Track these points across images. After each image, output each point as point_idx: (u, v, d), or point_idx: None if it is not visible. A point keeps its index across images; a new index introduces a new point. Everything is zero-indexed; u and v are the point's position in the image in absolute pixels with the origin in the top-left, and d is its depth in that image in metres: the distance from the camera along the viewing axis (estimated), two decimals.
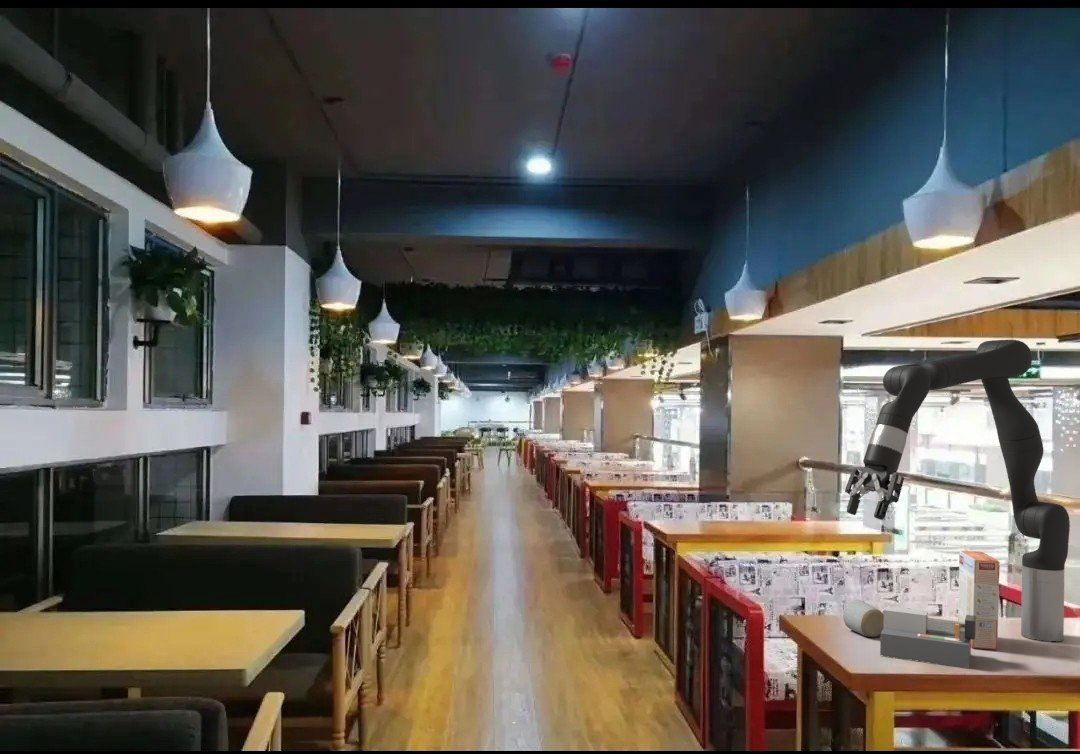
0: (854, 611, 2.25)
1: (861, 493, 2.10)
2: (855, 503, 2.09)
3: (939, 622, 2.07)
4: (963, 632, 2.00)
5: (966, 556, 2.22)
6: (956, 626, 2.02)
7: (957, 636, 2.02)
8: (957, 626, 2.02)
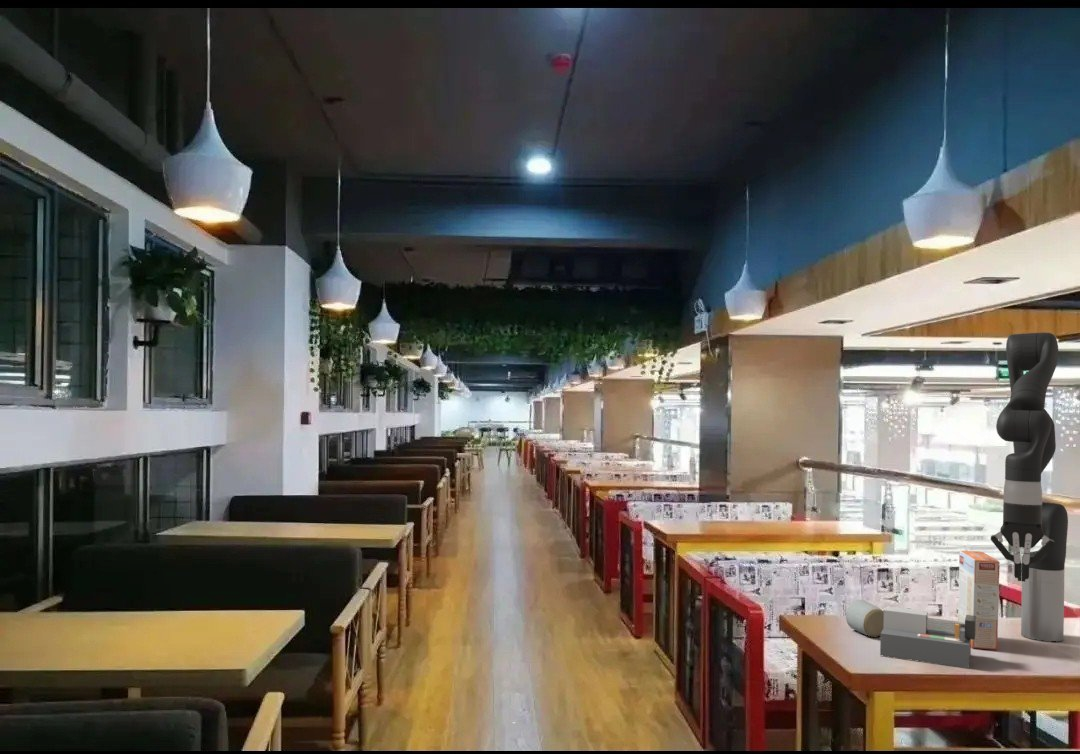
0: (856, 611, 2.25)
1: None
2: None
3: (939, 622, 2.07)
4: (963, 632, 2.00)
5: (966, 556, 2.22)
6: (956, 626, 2.02)
7: (957, 636, 2.02)
8: (957, 626, 2.02)
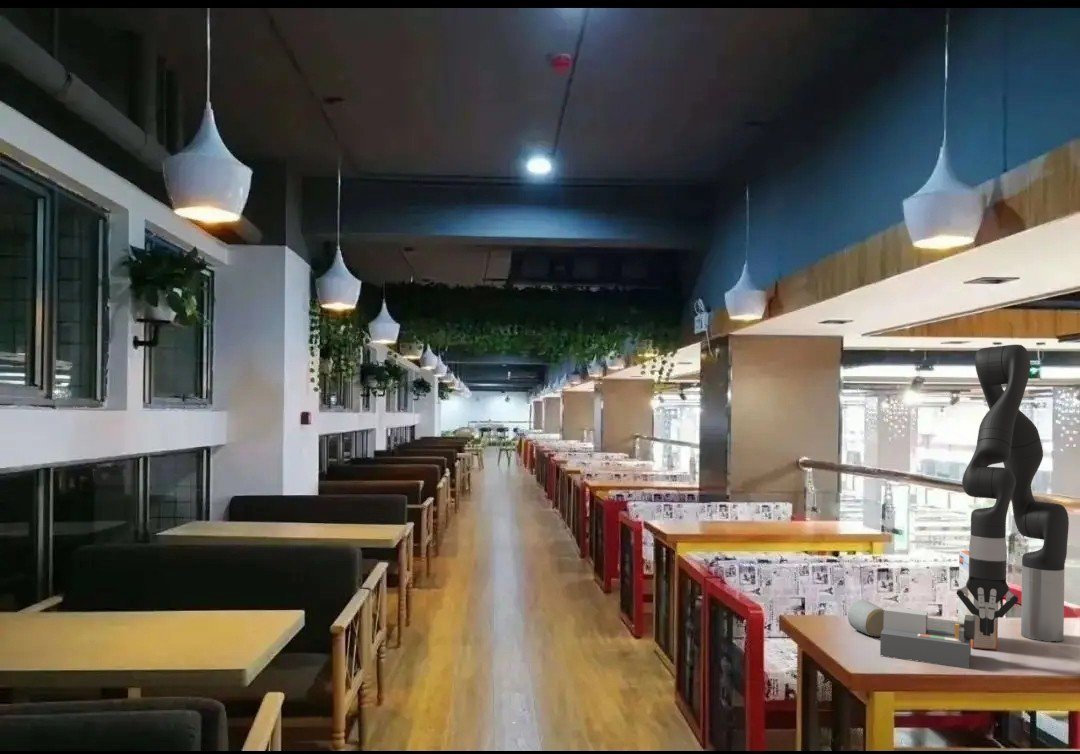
0: (858, 611, 2.25)
1: None
2: None
3: (938, 622, 2.07)
4: (962, 632, 2.01)
5: (966, 556, 2.22)
6: (956, 626, 2.02)
7: (957, 636, 2.02)
8: (957, 626, 2.02)
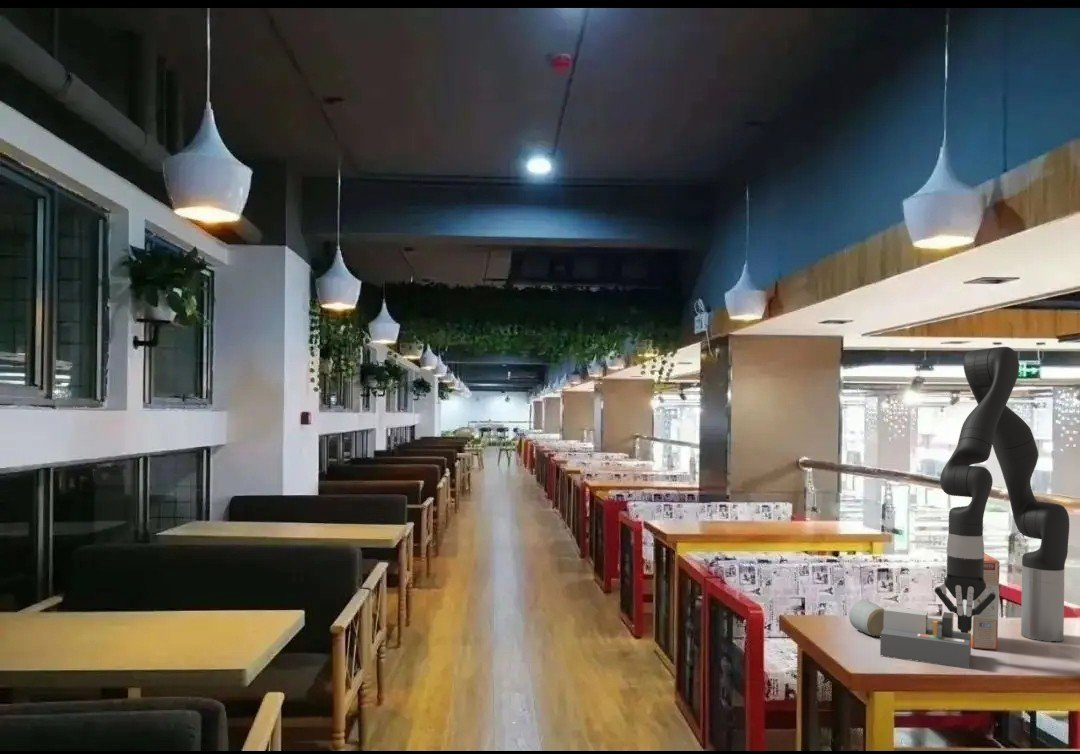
0: (860, 611, 2.25)
1: None
2: (964, 620, 2.06)
3: None
4: (940, 629, 2.03)
5: None
6: (934, 623, 2.04)
7: (935, 633, 2.04)
8: (935, 623, 2.04)
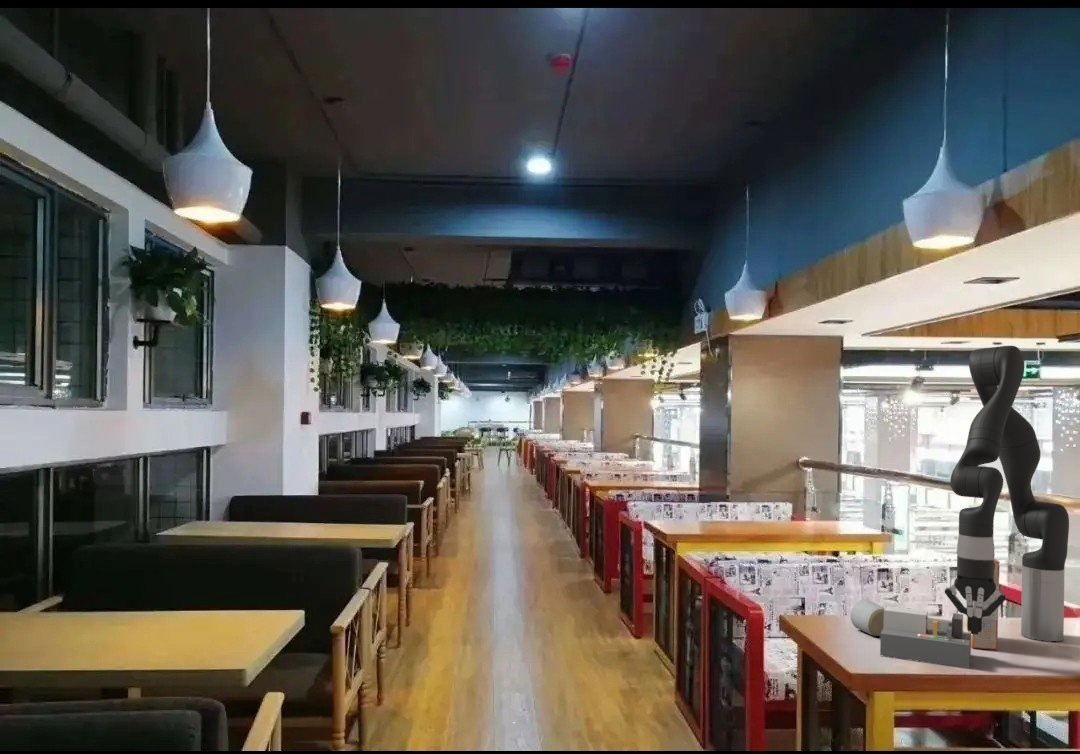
0: (861, 611, 2.26)
1: None
2: (974, 621, 2.05)
3: (926, 620, 2.08)
4: (950, 630, 2.02)
5: None
6: (934, 623, 2.04)
7: (935, 633, 2.04)
8: (935, 623, 2.04)
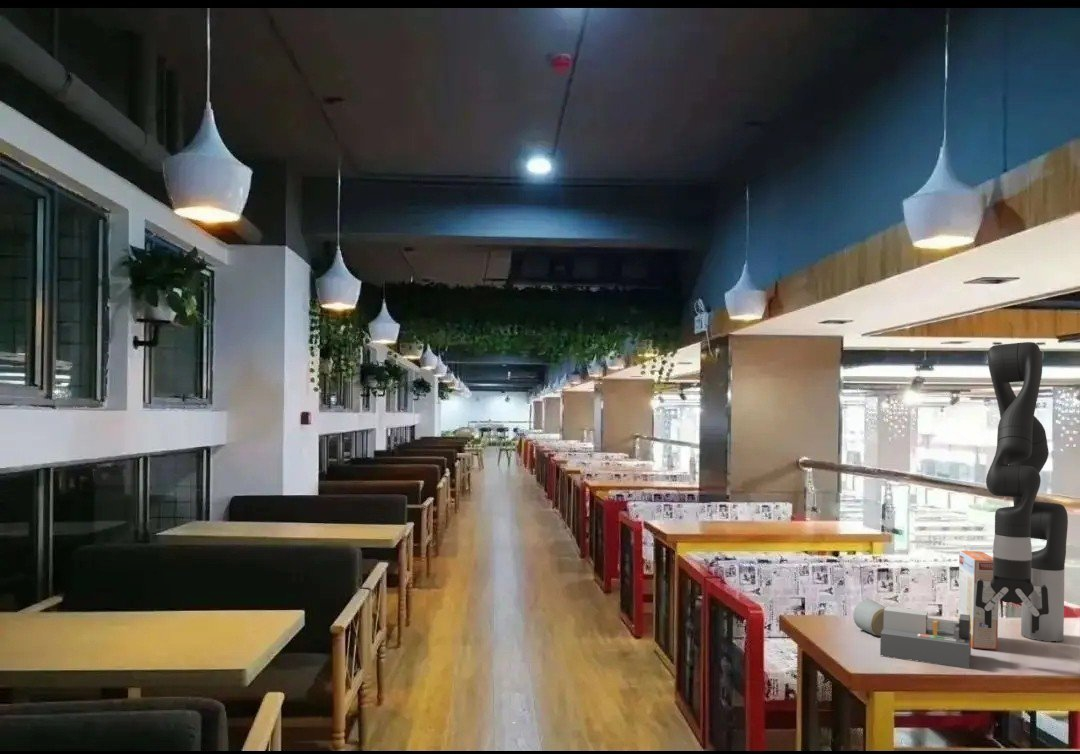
0: (864, 611, 2.26)
1: None
2: None
3: None
4: (957, 631, 2.01)
5: (966, 556, 2.22)
6: (934, 623, 2.04)
7: (935, 633, 2.04)
8: (935, 623, 2.04)
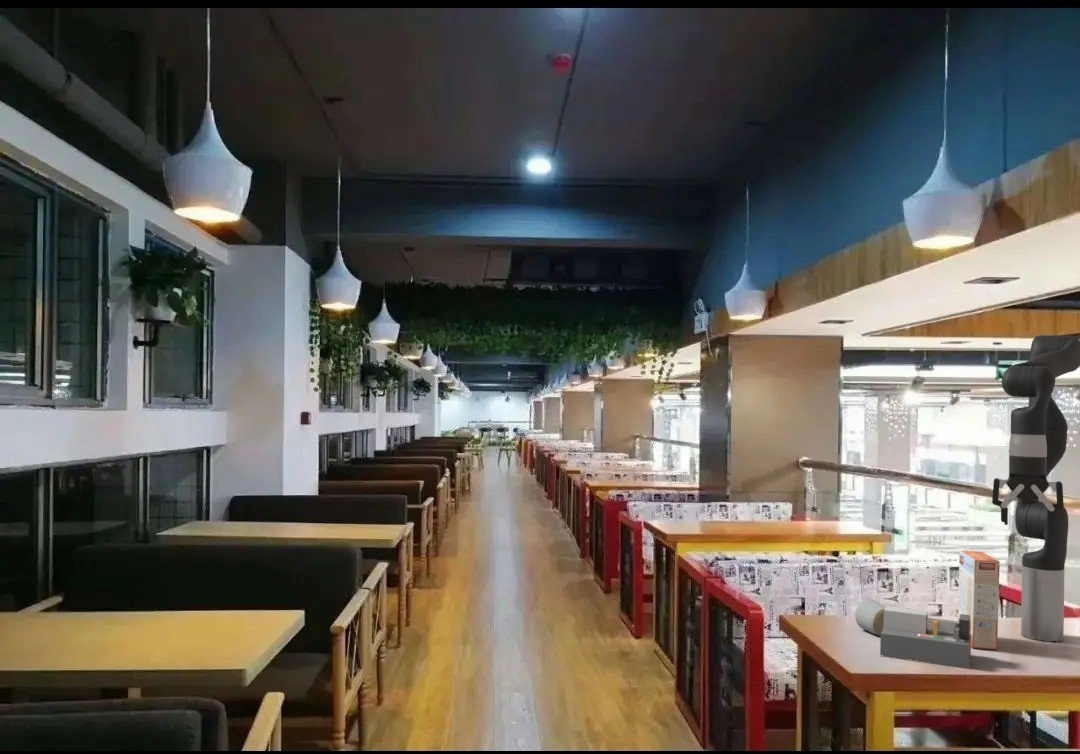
0: (866, 611, 2.26)
1: None
2: None
3: None
4: (957, 631, 2.01)
5: (966, 556, 2.22)
6: (934, 623, 2.04)
7: (935, 633, 2.04)
8: (935, 623, 2.04)
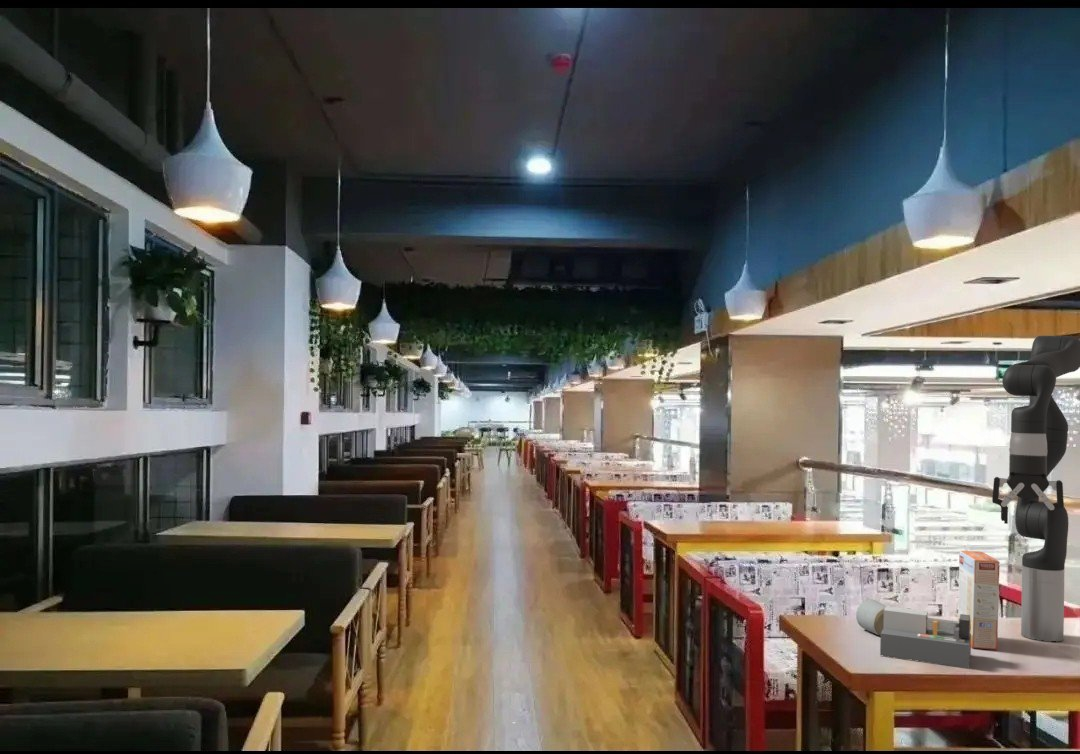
0: (867, 610, 2.26)
1: None
2: None
3: None
4: (957, 631, 2.01)
5: (966, 556, 2.22)
6: (934, 623, 2.04)
7: (935, 633, 2.04)
8: (935, 623, 2.04)
